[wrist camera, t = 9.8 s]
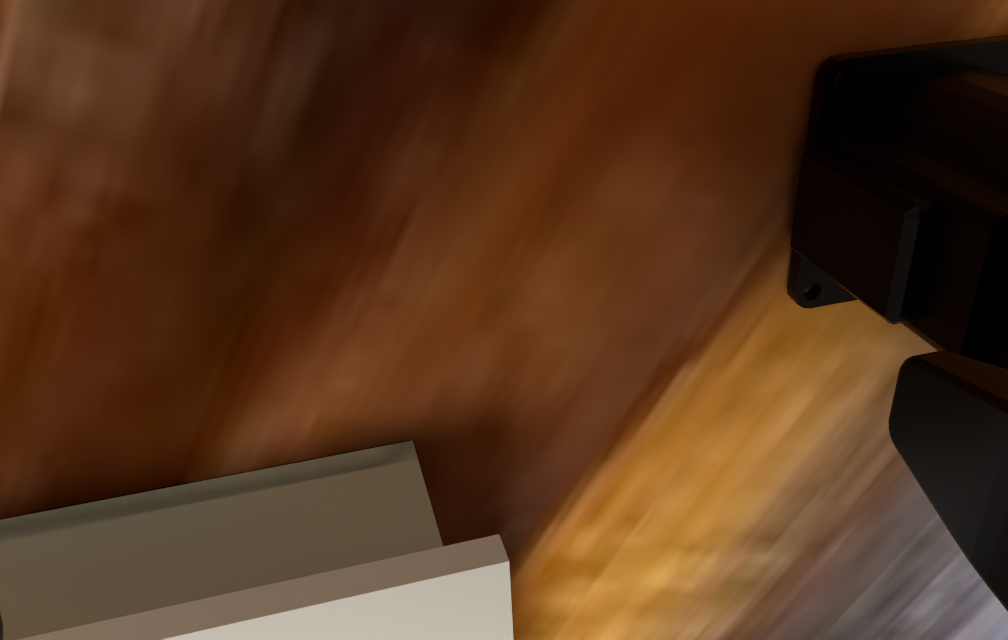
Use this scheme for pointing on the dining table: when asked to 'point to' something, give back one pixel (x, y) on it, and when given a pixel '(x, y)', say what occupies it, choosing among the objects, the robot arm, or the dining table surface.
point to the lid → (344, 604)
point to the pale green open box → (211, 538)
